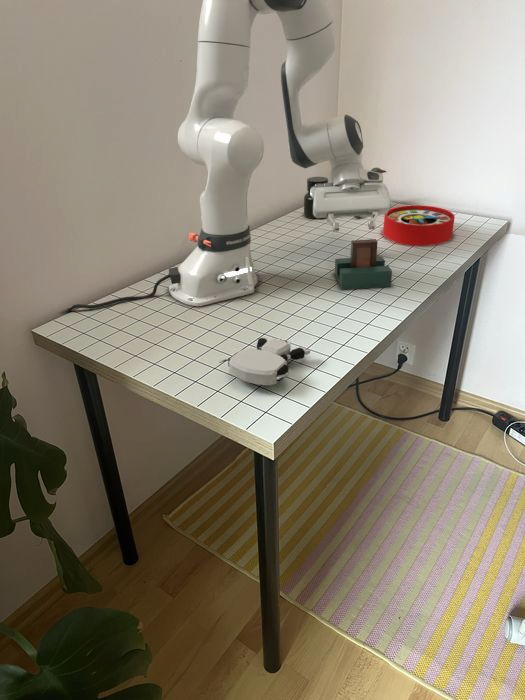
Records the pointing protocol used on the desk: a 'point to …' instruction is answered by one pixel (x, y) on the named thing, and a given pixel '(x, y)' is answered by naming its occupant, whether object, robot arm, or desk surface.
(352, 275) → the holder
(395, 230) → the toy clock
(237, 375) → the robot toy
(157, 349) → the desk surface
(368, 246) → the frame
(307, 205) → the ink bottle
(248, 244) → the robot arm
